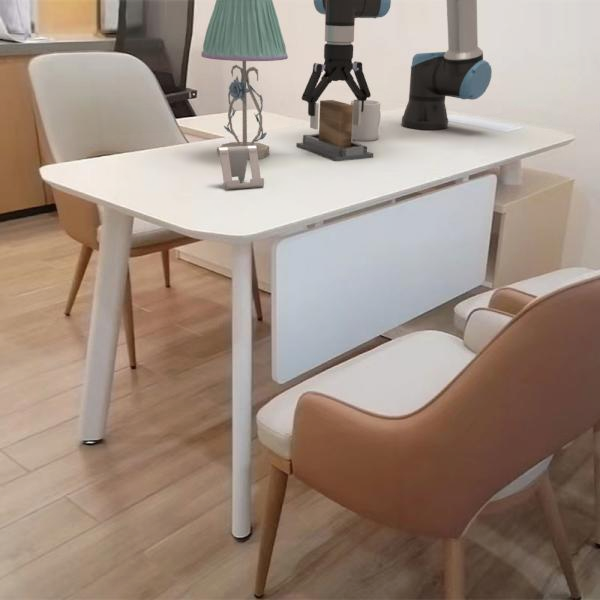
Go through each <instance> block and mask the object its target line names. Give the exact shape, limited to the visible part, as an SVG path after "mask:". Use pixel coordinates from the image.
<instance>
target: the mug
mask: <svg viewBox="0 0 600 600" xmlns="http://www.w3.org/2000/svg"><path fill="white" fill-rule="evenodd" d="M354 100H355V99H353V100H351V101H350V105H353V107H354ZM380 123H381V102H380V101H378V100H374V99H373V100H372V99H366V101H364V108H363V112H361V125H359V126H358V125H355V124H353V118H352V136H351V141H352V140H353V141H356V140H357V142H373V141H374V142H375V141H376V140H377V139H378V137H379V126H380Z"/></svg>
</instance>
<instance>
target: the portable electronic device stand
mask: <svg viewBox="0 0 600 600" xmlns="http://www.w3.org/2000/svg"><path fill="white" fill-rule="evenodd" d="M216 154H217V157H218V158H220V163H221V164H220V165H221V172H222V180H223V186H224V190H226V191H233V190H244V189H254V188H255V189H256V188H258V189H259V188H264V187H265V178H264V177H262V176H261V172H260V171H261V170H260V163H259V159H258V154H257V148H256V146H255V145H252V146H235V147H217V149H216ZM248 156H249V158H250V160H249V165H250V172H251V178H250V180H249V181H248V182H244V181H245V178H246V172H247V164H248ZM233 178H238V179H233ZM242 181H243V182H242Z"/></svg>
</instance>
